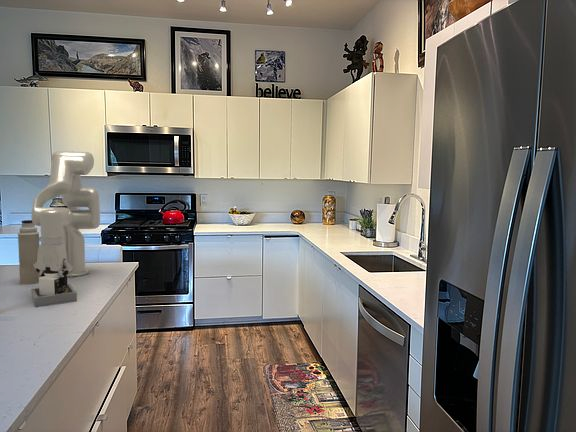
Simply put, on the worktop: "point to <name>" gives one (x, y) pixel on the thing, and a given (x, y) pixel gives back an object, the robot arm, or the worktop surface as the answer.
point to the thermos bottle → (28, 252)
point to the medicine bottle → (51, 283)
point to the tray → (53, 297)
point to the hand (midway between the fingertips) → (53, 285)
